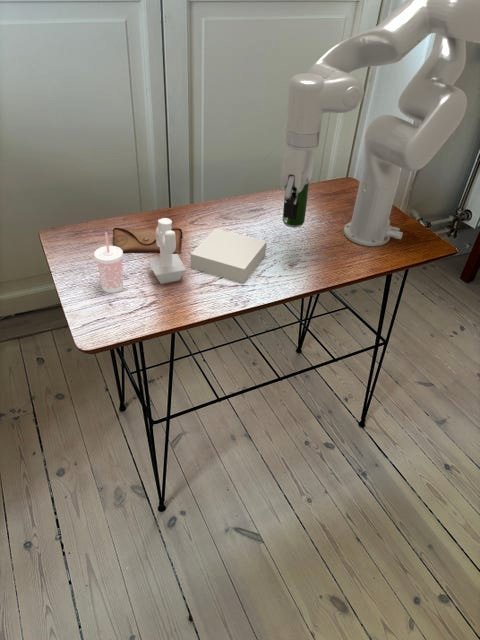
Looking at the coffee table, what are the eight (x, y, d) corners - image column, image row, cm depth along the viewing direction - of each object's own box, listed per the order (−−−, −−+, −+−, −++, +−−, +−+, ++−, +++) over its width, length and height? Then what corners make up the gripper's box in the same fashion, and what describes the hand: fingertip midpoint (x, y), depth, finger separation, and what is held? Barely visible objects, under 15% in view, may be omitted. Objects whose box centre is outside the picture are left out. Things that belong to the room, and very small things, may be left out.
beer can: (291, 230, 122) (296, 183, 114) (277, 220, 125) (281, 174, 117) (308, 224, 124) (314, 177, 116) (295, 215, 127) (300, 169, 120)
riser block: (265, 255, 130) (266, 241, 127) (243, 283, 120) (244, 269, 117) (215, 241, 134) (215, 228, 131) (190, 267, 124) (190, 253, 121)
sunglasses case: (110, 254, 126) (108, 227, 125) (113, 253, 133) (112, 227, 132) (183, 254, 128) (182, 227, 127) (183, 253, 135) (182, 227, 134)
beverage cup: (93, 286, 116) (84, 232, 107) (115, 275, 120) (108, 222, 111) (110, 298, 113) (102, 243, 104) (132, 286, 117) (126, 232, 108)
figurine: (176, 264, 125) (174, 208, 115) (188, 285, 118) (187, 228, 109) (147, 269, 122) (142, 212, 113) (157, 291, 116) (154, 233, 106)
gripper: (298, 122, 118) (291, 194, 130) (272, 147, 106) (266, 224, 118) (329, 127, 116) (319, 200, 128) (306, 154, 104) (297, 232, 115)
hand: (294, 211), depth 122 cm, fingers closed on beer can, 5 cm apart
